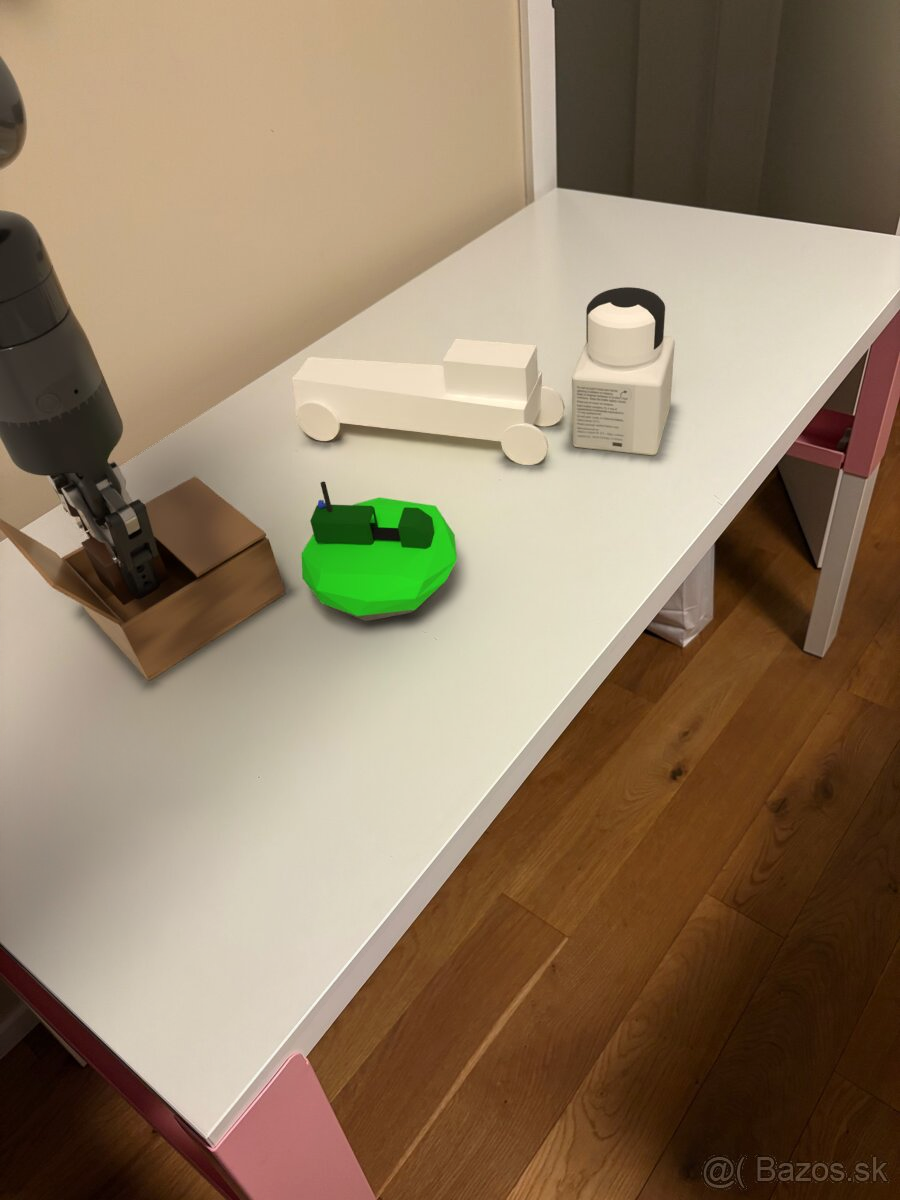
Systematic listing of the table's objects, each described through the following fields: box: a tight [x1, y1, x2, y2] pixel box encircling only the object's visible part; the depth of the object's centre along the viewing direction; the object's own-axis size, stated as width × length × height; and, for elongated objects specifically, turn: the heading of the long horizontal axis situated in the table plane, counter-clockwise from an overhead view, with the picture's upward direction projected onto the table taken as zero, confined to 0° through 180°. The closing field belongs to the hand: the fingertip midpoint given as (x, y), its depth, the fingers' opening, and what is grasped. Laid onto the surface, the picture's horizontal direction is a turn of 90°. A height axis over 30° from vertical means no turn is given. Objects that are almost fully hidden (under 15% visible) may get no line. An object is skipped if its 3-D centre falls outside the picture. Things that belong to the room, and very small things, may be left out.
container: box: [571, 286, 676, 456], centre depth 84 cm, size 8×8×13 cm
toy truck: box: [291, 338, 566, 466], centre depth 88 cm, size 25×7×9 cm, turn 71°
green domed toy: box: [300, 481, 458, 622], centre depth 72 cm, size 12×12×11 cm
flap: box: [0, 518, 119, 624], centre depth 68 cm, size 6×11×1 cm
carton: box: [60, 475, 287, 682], centre depth 75 cm, size 13×11×7 cm
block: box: [80, 537, 169, 605], centre depth 72 cm, size 4×4×4 cm
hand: (131, 576), depth 73 cm, fingers open, 4 cm apart
